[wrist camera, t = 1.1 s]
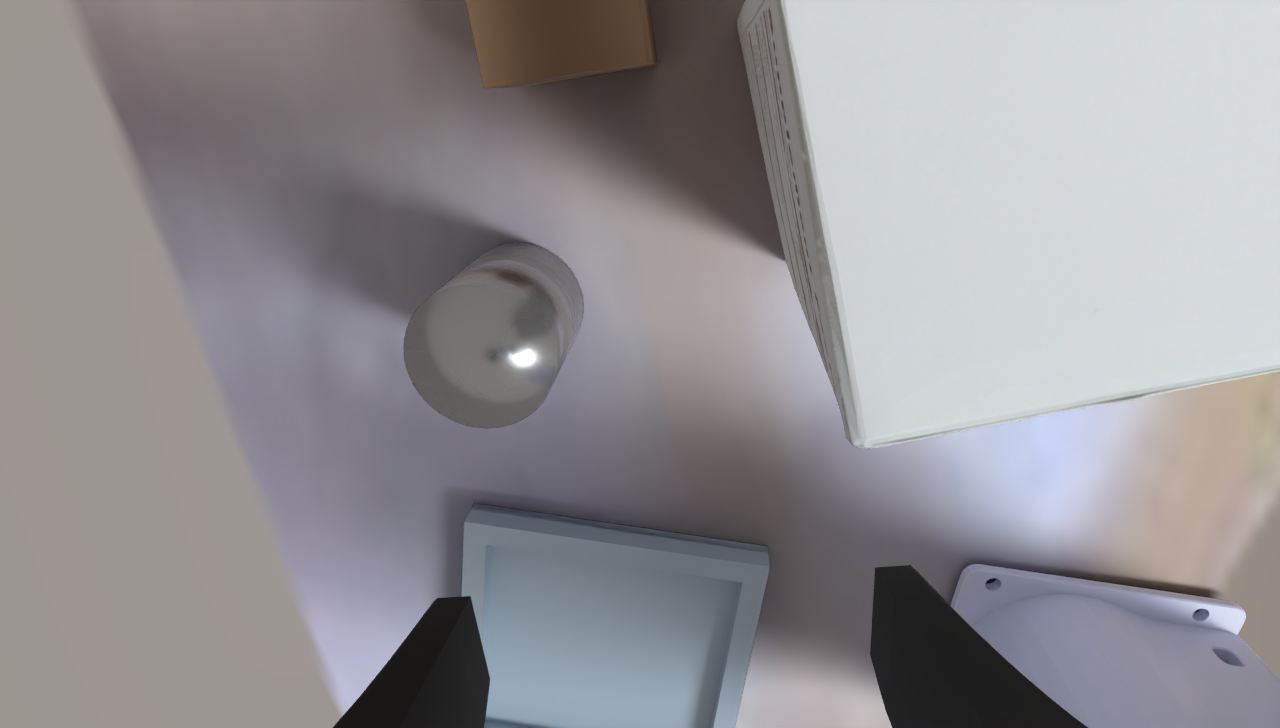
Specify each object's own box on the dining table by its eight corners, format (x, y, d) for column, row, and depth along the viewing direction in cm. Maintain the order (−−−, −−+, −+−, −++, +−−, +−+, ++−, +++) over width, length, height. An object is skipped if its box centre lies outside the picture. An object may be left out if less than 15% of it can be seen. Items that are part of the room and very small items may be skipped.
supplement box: (1009, -67, 19) (1487, -300, 7) (1030, 213, 22) (1416, 371, 10) (728, 12, 20) (758, -81, 9) (778, 269, 23) (854, 469, 11)
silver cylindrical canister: (588, 251, 23) (560, 294, 18) (578, 369, 25) (549, 437, 20) (462, 234, 23) (403, 274, 19) (459, 353, 25) (403, 417, 20)
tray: (767, 546, 26) (769, 567, 25) (721, 764, 30) (721, 790, 29) (474, 503, 27) (464, 521, 26) (465, 723, 31) (456, 747, 29)
